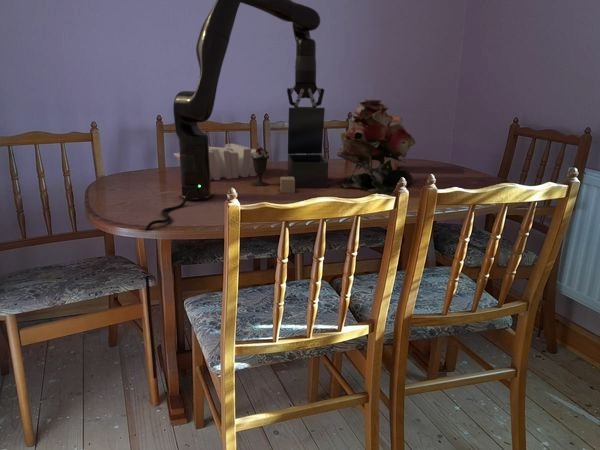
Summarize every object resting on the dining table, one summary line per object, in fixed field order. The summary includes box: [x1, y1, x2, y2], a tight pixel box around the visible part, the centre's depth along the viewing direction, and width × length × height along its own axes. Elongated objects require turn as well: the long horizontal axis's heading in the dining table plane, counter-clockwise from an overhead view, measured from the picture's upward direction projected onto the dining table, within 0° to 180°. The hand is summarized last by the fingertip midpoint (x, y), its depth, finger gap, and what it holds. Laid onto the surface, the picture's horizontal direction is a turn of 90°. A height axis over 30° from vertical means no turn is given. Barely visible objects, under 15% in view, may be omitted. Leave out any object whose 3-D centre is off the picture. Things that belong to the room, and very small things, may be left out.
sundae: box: [251, 142, 270, 187], centre depth 190 cm, size 7×7×15 cm
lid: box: [287, 106, 326, 155], centre depth 198 cm, size 18×13×5 cm
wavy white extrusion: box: [173, 143, 259, 182], centre depth 205 cm, size 35×16×11 cm, turn 119°
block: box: [279, 176, 296, 194], centre depth 181 cm, size 5×5×5 cm
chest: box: [287, 153, 329, 189], centre depth 194 cm, size 17×13×9 cm
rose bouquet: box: [336, 98, 416, 195], centre depth 190 cm, size 26×29×30 cm
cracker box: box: [384, 116, 403, 170], centre depth 217 cm, size 14×6×21 cm, turn 165°
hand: (305, 117), depth 197 cm, fingers open, 5 cm apart
